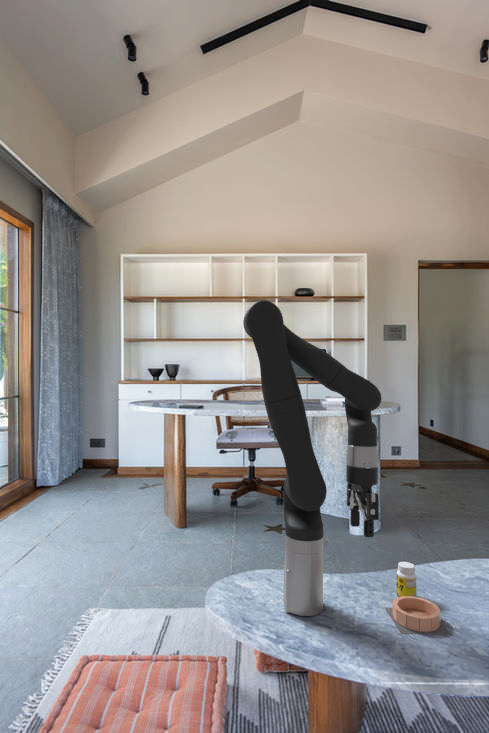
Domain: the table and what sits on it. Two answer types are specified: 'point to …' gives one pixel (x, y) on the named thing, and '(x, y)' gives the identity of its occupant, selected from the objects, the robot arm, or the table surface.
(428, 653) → the table surface
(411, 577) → the supplement bottle
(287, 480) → the robot arm
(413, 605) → the bowl
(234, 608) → the table surface
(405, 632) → the mat
